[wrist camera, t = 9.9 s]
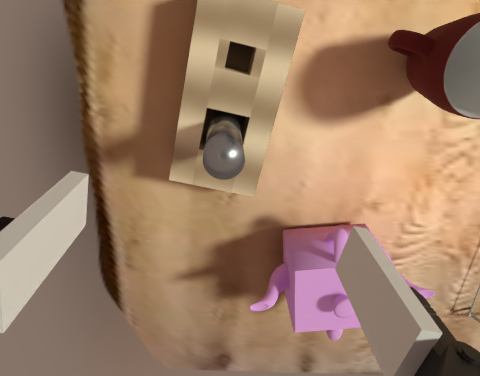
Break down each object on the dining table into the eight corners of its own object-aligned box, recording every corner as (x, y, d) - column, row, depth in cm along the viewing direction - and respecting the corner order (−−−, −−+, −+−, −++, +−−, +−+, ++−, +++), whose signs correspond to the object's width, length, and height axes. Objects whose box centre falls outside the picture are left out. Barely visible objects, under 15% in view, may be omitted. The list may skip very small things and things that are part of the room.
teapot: (308, 308, 49) (329, 377, 39) (243, 255, 45) (248, 317, 35) (395, 244, 45) (443, 303, 35) (333, 179, 41) (367, 225, 31)
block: (204, -11, 32) (200, -19, 27) (294, 14, 33) (305, 10, 28) (175, 163, 39) (168, 180, 34) (250, 178, 40) (253, 196, 35)
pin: (213, 105, 35) (207, 135, 24) (242, 112, 36) (249, 144, 25) (206, 134, 37) (198, 175, 26) (235, 140, 37) (239, 183, 26)
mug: (354, 85, 36) (396, 102, 27) (382, 2, 33) (442, -12, 24) (442, 106, 37) (512, 128, 28) (478, 28, 34) (570, 24, 25)
